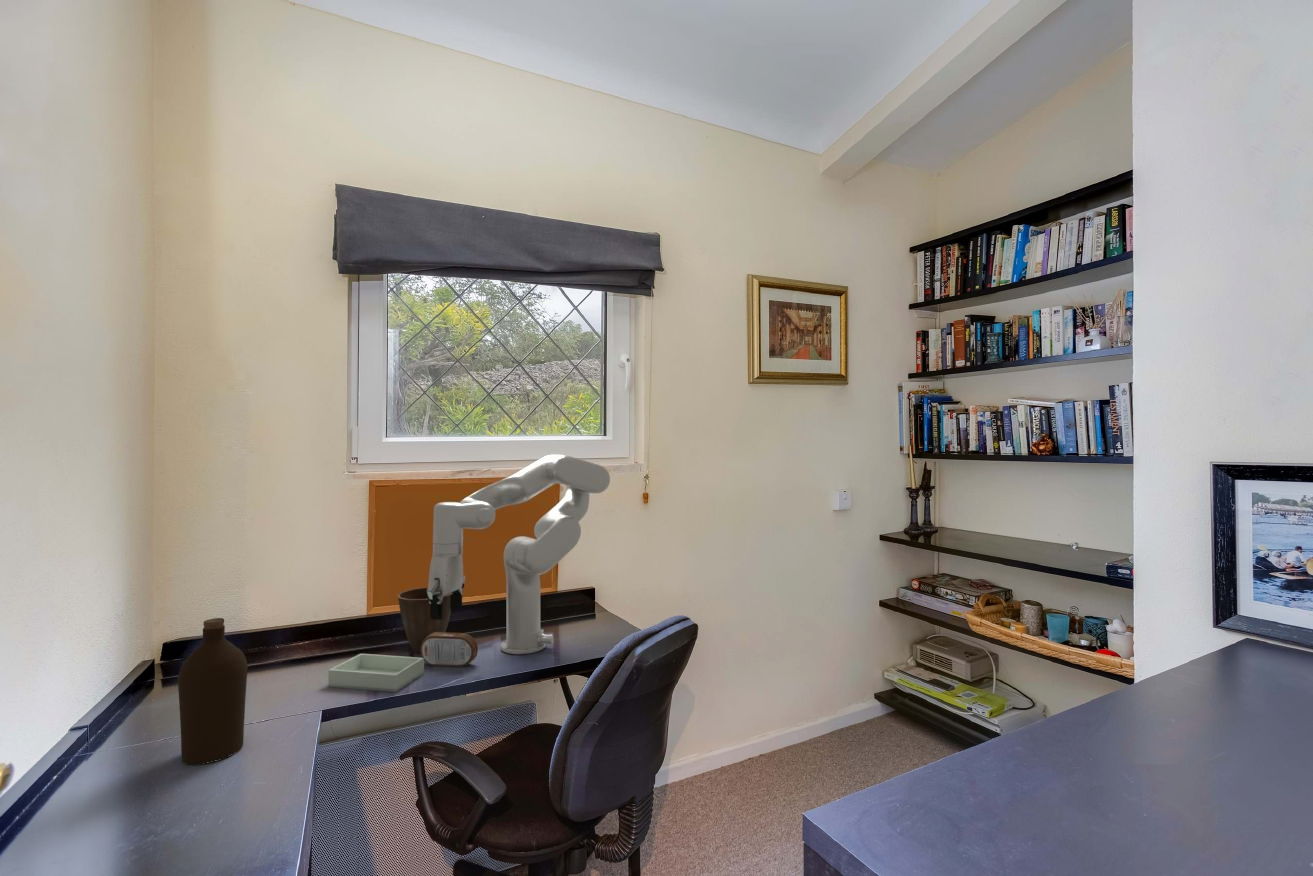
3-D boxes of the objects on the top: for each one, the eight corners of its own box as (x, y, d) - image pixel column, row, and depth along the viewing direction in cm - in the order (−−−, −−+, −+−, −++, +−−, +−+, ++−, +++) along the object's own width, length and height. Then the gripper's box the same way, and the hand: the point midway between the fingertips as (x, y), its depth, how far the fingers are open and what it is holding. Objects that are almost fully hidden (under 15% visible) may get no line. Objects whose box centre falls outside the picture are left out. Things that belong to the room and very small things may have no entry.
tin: (478, 664, 159) (478, 632, 159) (473, 668, 156) (473, 636, 156) (424, 662, 161) (424, 630, 161) (418, 666, 158) (418, 634, 158)
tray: (423, 673, 152) (423, 658, 152) (395, 692, 141) (395, 675, 141) (360, 669, 156) (360, 653, 156) (328, 686, 144) (328, 670, 144)
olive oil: (204, 771, 107) (205, 631, 107) (163, 762, 110) (163, 625, 110) (260, 743, 117) (261, 614, 117) (220, 735, 120) (221, 610, 121)
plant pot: (385, 654, 167) (385, 596, 167) (425, 638, 181) (425, 584, 181) (427, 661, 161) (427, 601, 162) (464, 644, 175) (464, 589, 175)
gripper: (451, 543, 168) (450, 605, 167) (416, 553, 151) (414, 622, 150) (476, 545, 167) (475, 607, 166) (443, 555, 150) (441, 624, 149)
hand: (446, 614), depth 158 cm, fingers open, 9 cm apart
